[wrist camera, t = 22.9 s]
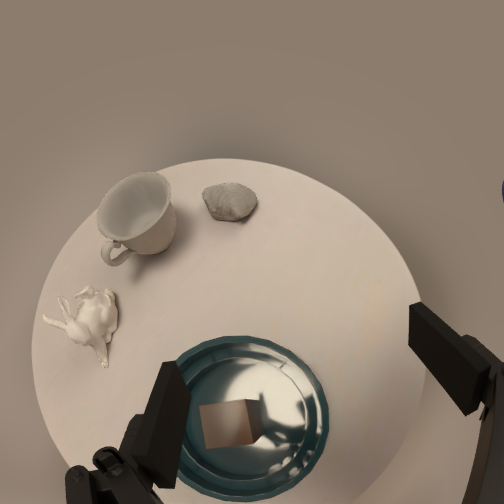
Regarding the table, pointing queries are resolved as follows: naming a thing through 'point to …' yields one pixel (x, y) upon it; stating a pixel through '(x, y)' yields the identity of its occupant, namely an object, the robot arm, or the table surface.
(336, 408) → the table surface
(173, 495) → the table surface
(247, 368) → the bowl
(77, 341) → the rabbit figurine
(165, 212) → the teacup
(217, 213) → the pebble
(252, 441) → the walnut block
